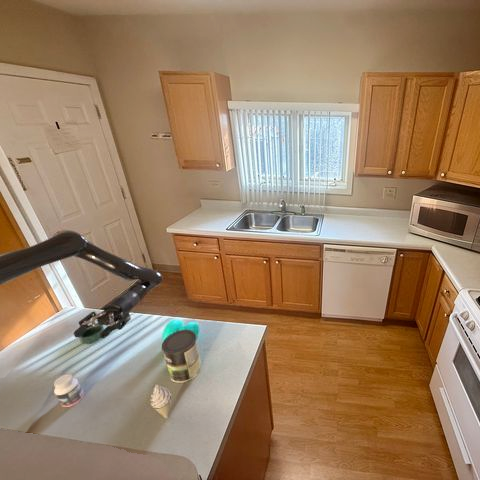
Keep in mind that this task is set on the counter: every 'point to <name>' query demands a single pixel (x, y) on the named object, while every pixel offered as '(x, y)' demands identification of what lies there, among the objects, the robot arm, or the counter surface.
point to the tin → (91, 335)
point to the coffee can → (182, 355)
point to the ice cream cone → (161, 400)
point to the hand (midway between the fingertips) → (88, 336)
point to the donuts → (179, 328)
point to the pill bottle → (68, 390)
